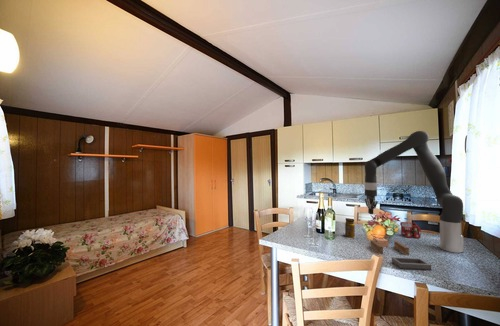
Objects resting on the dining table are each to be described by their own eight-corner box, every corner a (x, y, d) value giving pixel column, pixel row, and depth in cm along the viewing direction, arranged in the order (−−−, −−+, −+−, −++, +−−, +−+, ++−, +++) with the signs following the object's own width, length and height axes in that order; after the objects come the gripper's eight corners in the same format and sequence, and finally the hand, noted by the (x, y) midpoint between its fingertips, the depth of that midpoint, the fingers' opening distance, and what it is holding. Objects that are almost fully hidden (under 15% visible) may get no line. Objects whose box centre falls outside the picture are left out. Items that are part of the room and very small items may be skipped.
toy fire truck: (423, 239, 140) (423, 224, 140) (403, 237, 143) (403, 223, 143) (418, 236, 147) (417, 221, 147) (398, 234, 150) (398, 220, 150)
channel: (397, 247, 125) (397, 241, 125) (408, 254, 115) (408, 247, 115) (370, 246, 126) (370, 240, 126) (379, 253, 116) (379, 246, 117)
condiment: (357, 237, 144) (357, 220, 144) (350, 239, 140) (350, 221, 140) (347, 234, 150) (347, 217, 150) (340, 236, 146) (340, 219, 146)
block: (383, 243, 132) (382, 237, 132) (388, 247, 126) (388, 240, 126) (373, 243, 133) (373, 237, 133) (377, 246, 127) (377, 240, 127)
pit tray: (420, 263, 105) (420, 258, 105) (431, 270, 98) (431, 265, 98) (391, 262, 106) (391, 257, 106) (400, 268, 99) (400, 263, 99)
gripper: (381, 190, 135) (381, 216, 135) (371, 188, 149) (371, 211, 148) (369, 190, 136) (370, 216, 135) (360, 187, 149) (360, 211, 149)
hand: (370, 213), depth 142 cm, fingers closed
